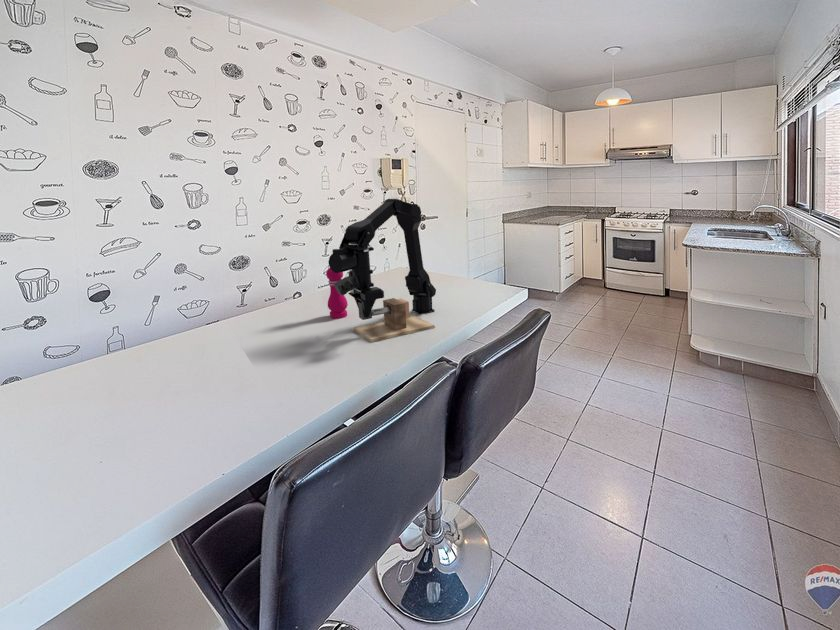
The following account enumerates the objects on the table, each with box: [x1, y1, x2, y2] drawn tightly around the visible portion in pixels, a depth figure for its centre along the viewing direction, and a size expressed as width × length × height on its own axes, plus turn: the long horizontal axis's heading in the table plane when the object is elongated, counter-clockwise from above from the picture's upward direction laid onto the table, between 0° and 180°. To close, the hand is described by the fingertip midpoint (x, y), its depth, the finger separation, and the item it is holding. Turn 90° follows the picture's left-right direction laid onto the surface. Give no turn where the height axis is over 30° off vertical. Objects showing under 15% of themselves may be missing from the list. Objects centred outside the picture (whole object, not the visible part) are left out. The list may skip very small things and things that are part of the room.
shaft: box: [357, 301, 391, 321], centre depth 144 cm, size 16×3×5 cm, turn 120°
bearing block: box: [382, 297, 406, 330], centre depth 147 cm, size 4×8×8 cm, turn 30°
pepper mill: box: [325, 267, 349, 319], centre depth 162 cm, size 7×7×20 cm
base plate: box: [353, 314, 436, 343], centre depth 148 cm, size 23×14×1 cm, turn 120°
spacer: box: [396, 298, 410, 318], centre depth 148 cm, size 2×5×5 cm, turn 30°
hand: (364, 315), depth 142 cm, fingers closed on shaft, 3 cm apart
